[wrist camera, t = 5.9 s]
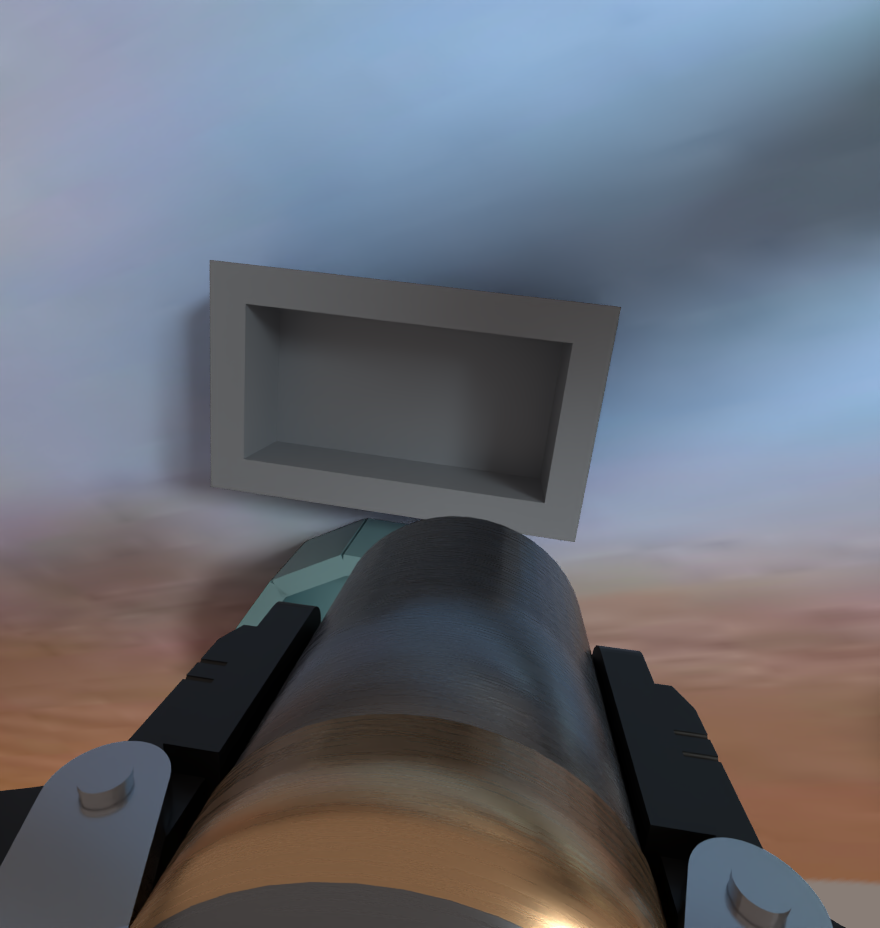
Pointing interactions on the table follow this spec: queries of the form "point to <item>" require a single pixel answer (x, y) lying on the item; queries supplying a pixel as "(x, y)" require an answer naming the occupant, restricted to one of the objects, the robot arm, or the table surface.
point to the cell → (426, 762)
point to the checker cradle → (405, 396)
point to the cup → (320, 568)
